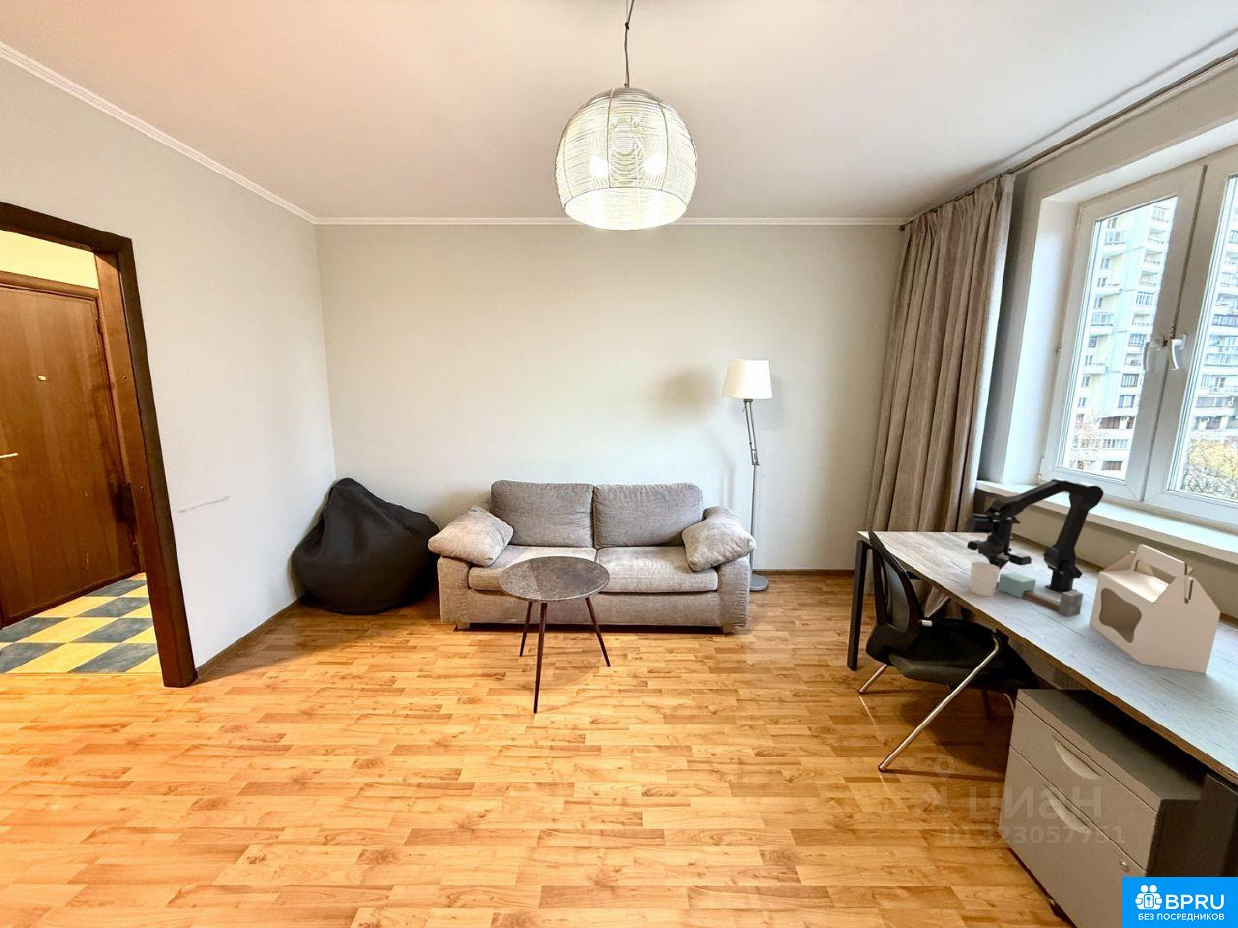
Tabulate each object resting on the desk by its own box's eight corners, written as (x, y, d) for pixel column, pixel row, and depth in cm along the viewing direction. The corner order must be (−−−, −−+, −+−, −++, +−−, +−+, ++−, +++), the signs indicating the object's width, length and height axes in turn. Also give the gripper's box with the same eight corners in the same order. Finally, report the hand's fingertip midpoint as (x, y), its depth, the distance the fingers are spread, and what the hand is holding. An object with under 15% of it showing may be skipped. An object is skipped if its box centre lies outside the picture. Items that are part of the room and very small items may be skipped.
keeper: (1011, 586, 170) (1013, 572, 169) (1033, 594, 164) (1035, 579, 163) (998, 589, 168) (1000, 574, 167) (1019, 597, 162) (1022, 582, 161)
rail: (1004, 585, 172) (1007, 567, 171) (1079, 613, 151) (1083, 593, 150) (993, 587, 170) (995, 569, 169) (1067, 616, 149) (1071, 596, 148)
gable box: (1207, 674, 120) (1232, 571, 115) (1140, 664, 124) (1161, 564, 119) (1143, 631, 140) (1162, 542, 136) (1088, 624, 145) (1104, 538, 140)
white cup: (1000, 598, 162) (1005, 571, 160) (975, 596, 164) (979, 569, 162) (988, 588, 170) (991, 562, 168) (963, 586, 171) (967, 560, 169)
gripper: (959, 528, 176) (954, 567, 179) (1013, 544, 159) (1007, 587, 161) (980, 525, 180) (975, 564, 182) (1036, 541, 162) (1029, 583, 165)
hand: (994, 574), depth 172 cm, fingers closed
